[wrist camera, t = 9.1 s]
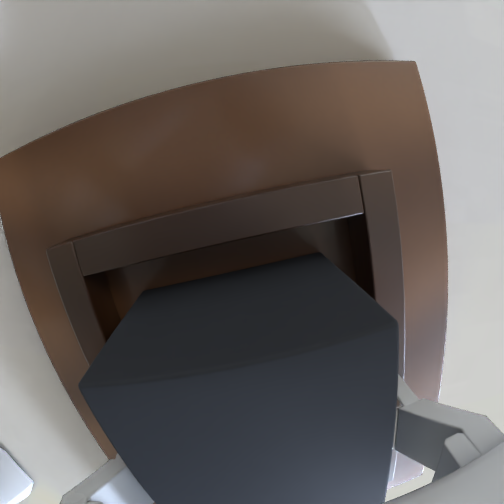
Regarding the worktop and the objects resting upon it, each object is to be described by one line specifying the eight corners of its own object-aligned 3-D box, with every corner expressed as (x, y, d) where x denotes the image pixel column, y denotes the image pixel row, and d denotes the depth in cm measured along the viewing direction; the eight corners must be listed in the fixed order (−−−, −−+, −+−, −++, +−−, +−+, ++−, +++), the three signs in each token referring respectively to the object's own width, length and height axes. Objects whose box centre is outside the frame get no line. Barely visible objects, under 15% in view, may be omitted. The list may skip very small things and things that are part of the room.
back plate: (9, 162, 9) (-37, 163, 7) (399, 69, 9) (440, 47, 7) (167, 513, 14) (162, 547, 11) (414, 462, 14) (432, 492, 11)
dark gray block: (142, 289, 9) (74, 384, 5) (320, 250, 9) (400, 320, 5) (218, 474, 12) (218, 569, 7) (342, 449, 12) (377, 538, 7)
